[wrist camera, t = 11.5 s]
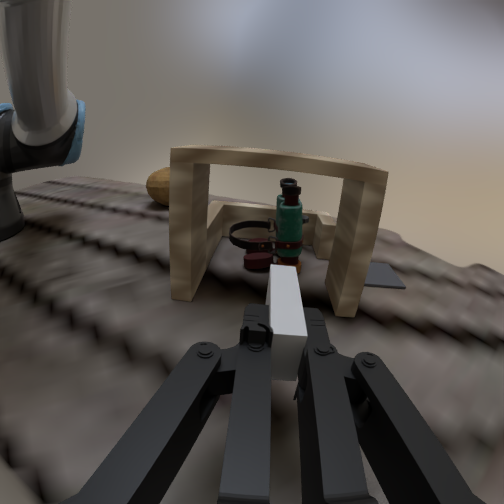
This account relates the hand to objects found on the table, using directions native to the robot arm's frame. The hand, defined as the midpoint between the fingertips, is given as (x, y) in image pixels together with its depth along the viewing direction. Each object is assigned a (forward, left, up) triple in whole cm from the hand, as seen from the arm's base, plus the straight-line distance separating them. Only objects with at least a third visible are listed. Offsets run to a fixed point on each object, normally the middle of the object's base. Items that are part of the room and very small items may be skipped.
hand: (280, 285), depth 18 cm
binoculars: (-1, +19, -7) cm, 20 cm away
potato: (-21, +44, -7) cm, 49 cm away
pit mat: (+14, +18, -7) cm, 24 cm away
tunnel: (0, +18, -7) cm, 19 cm away
